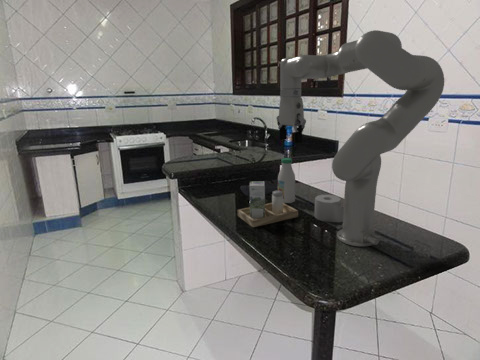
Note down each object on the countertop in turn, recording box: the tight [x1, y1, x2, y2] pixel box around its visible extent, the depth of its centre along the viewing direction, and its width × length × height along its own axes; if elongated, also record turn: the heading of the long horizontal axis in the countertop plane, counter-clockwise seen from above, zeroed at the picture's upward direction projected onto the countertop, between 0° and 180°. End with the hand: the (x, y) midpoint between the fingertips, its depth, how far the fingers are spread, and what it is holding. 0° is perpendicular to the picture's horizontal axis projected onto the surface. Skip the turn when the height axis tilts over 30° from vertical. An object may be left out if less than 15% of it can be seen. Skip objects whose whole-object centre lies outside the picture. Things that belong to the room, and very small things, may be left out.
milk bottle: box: [277, 157, 296, 204], centre depth 144 cm, size 8×8×20 cm
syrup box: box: [249, 180, 266, 219], centre depth 124 cm, size 6×6×14 cm
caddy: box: [236, 202, 299, 228], centre depth 128 cm, size 13×20×4 cm, turn 116°
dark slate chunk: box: [239, 178, 278, 198], centre depth 164 cm, size 15×22×5 cm
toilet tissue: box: [313, 194, 344, 226], centre depth 125 cm, size 9×13×9 cm
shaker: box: [271, 191, 283, 214], centre depth 129 cm, size 4×4×9 cm
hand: (290, 141), depth 123 cm, fingers open, 9 cm apart
